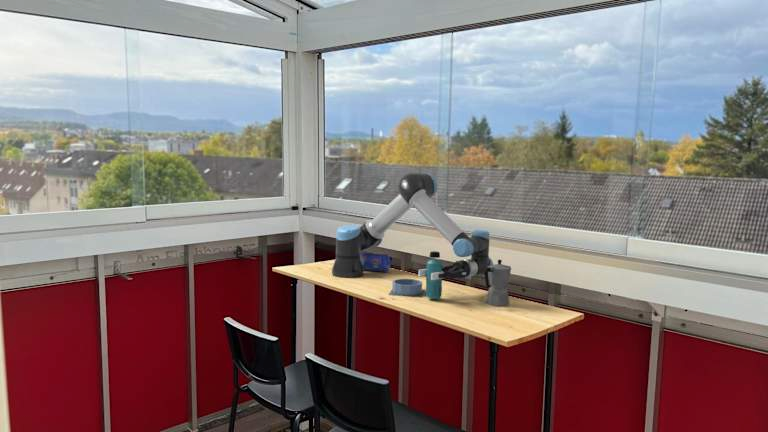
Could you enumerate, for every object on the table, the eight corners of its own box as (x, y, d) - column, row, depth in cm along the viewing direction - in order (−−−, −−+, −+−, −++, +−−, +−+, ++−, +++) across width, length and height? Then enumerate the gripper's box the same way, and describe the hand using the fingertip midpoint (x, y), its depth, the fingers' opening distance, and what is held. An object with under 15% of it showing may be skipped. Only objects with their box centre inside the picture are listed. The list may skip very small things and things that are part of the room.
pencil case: (392, 271, 289) (393, 252, 287) (387, 274, 280) (388, 255, 279) (351, 267, 295) (352, 248, 294) (345, 270, 287) (346, 251, 286)
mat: (388, 295, 238) (388, 294, 238) (393, 287, 252) (393, 287, 252) (421, 298, 236) (421, 297, 236) (425, 290, 250) (425, 289, 250)
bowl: (390, 294, 239) (390, 284, 238) (395, 287, 251) (395, 278, 251) (419, 296, 237) (420, 286, 236) (423, 289, 249) (423, 279, 248)
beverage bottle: (440, 302, 229) (442, 253, 227) (424, 301, 231) (425, 252, 228) (442, 298, 236) (444, 250, 233) (426, 297, 237) (428, 249, 235)
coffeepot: (498, 298, 238) (501, 256, 236) (517, 303, 231) (519, 260, 229) (473, 304, 228) (475, 259, 226) (492, 309, 221) (494, 263, 219)
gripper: (481, 281, 236) (442, 289, 222) (447, 273, 251) (408, 279, 236) (482, 263, 235) (443, 270, 221) (448, 256, 250) (409, 261, 236)
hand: (425, 275), depth 229 cm, fingers closed on beverage bottle, 6 cm apart
